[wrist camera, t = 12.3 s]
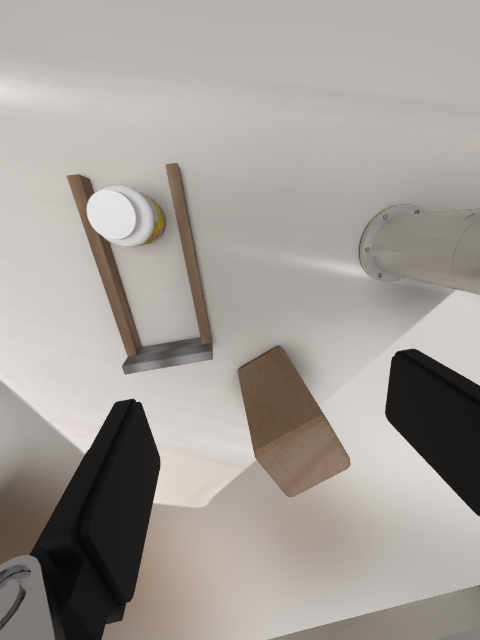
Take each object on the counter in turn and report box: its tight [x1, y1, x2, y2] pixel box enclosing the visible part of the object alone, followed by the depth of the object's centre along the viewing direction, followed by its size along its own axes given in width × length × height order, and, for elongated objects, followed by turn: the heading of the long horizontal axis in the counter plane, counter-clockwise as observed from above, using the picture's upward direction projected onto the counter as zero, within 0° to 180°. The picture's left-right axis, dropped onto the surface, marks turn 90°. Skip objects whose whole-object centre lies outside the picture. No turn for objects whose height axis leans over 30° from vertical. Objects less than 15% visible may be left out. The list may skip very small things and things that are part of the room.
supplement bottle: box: [87, 184, 165, 247], centre depth 30 cm, size 7×7×13 cm
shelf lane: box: [67, 163, 213, 374], centre depth 36 cm, size 14×28×6 cm, turn 7°
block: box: [238, 347, 350, 497], centre depth 39 cm, size 10×10×20 cm
